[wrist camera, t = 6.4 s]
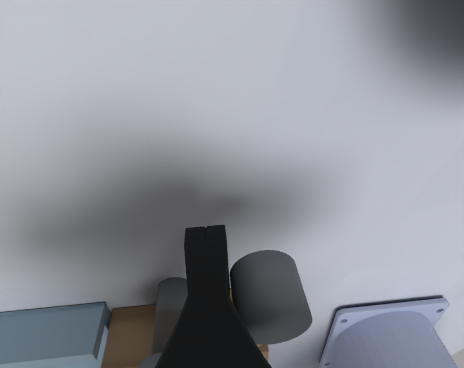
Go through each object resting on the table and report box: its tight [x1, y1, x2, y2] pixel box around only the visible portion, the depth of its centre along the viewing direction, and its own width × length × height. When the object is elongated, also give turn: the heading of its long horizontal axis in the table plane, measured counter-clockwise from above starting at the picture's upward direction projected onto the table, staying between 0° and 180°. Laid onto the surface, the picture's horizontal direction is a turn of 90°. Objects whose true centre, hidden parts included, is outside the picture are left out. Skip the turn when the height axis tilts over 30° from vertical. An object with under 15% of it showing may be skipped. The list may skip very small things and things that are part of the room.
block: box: [101, 278, 269, 368], centre depth 20 cm, size 12×9×4 cm
